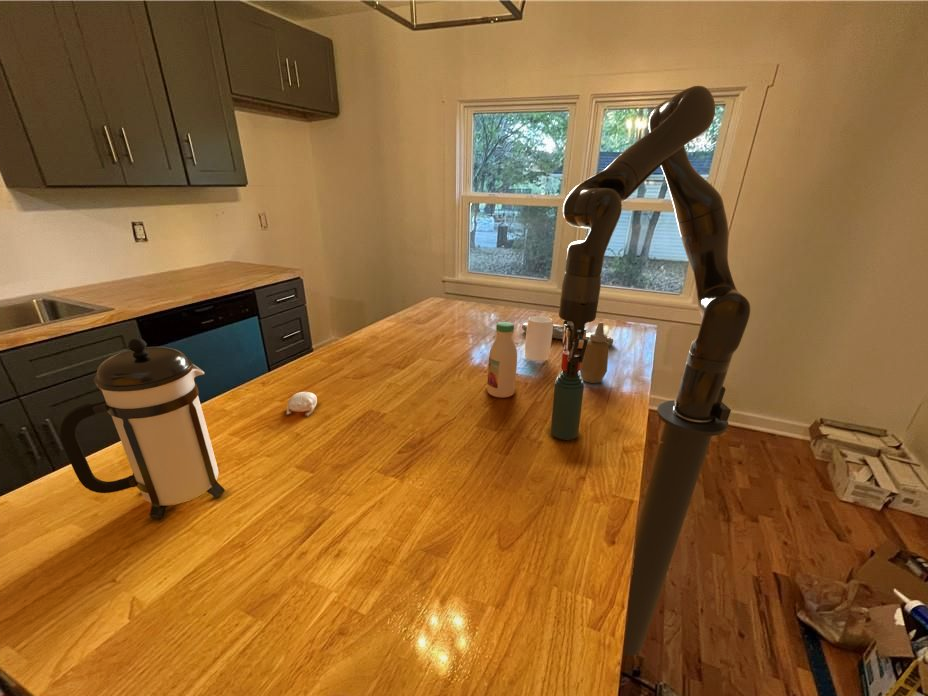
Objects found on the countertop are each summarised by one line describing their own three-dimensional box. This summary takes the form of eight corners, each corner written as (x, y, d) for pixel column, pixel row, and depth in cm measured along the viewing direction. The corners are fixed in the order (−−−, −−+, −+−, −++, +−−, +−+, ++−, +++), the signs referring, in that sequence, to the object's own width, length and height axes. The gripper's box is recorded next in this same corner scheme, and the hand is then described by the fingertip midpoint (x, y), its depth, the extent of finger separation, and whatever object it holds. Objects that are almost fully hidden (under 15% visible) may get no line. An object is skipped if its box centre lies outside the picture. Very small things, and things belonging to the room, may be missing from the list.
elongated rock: (609, 353, 152) (612, 346, 161) (612, 339, 150) (616, 333, 159) (517, 332, 165) (525, 327, 173) (519, 319, 163) (527, 314, 171)
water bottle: (566, 423, 104) (574, 348, 95) (584, 435, 98) (593, 357, 90) (545, 429, 101) (550, 353, 93) (561, 442, 96) (569, 363, 87)
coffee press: (175, 462, 86) (129, 320, 73) (247, 473, 84) (212, 327, 71) (94, 523, 70) (17, 356, 58) (179, 538, 68) (119, 367, 55)
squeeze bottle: (587, 386, 124) (597, 327, 116) (572, 375, 131) (581, 319, 123) (610, 383, 126) (621, 325, 118) (594, 373, 133) (604, 317, 125)
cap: (560, 371, 91) (562, 355, 90) (561, 364, 95) (562, 348, 93) (580, 373, 90) (582, 356, 89) (580, 365, 94) (581, 349, 92)
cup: (523, 354, 145) (527, 314, 139) (548, 356, 145) (552, 316, 139) (524, 364, 138) (528, 322, 132) (550, 365, 137) (555, 323, 131)
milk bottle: (513, 386, 122) (519, 320, 114) (515, 399, 115) (521, 328, 107) (486, 385, 123) (490, 319, 114) (487, 397, 116) (490, 327, 107)
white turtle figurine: (309, 417, 104) (307, 403, 102) (282, 415, 104) (280, 402, 102) (321, 402, 111) (319, 389, 109) (296, 400, 111) (294, 387, 110)
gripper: (555, 287, 92) (547, 360, 100) (567, 304, 79) (556, 386, 87) (590, 288, 92) (579, 361, 99) (607, 305, 79) (593, 387, 87)
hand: (569, 372), depth 93 cm, fingers closed on cap, 3 cm apart
